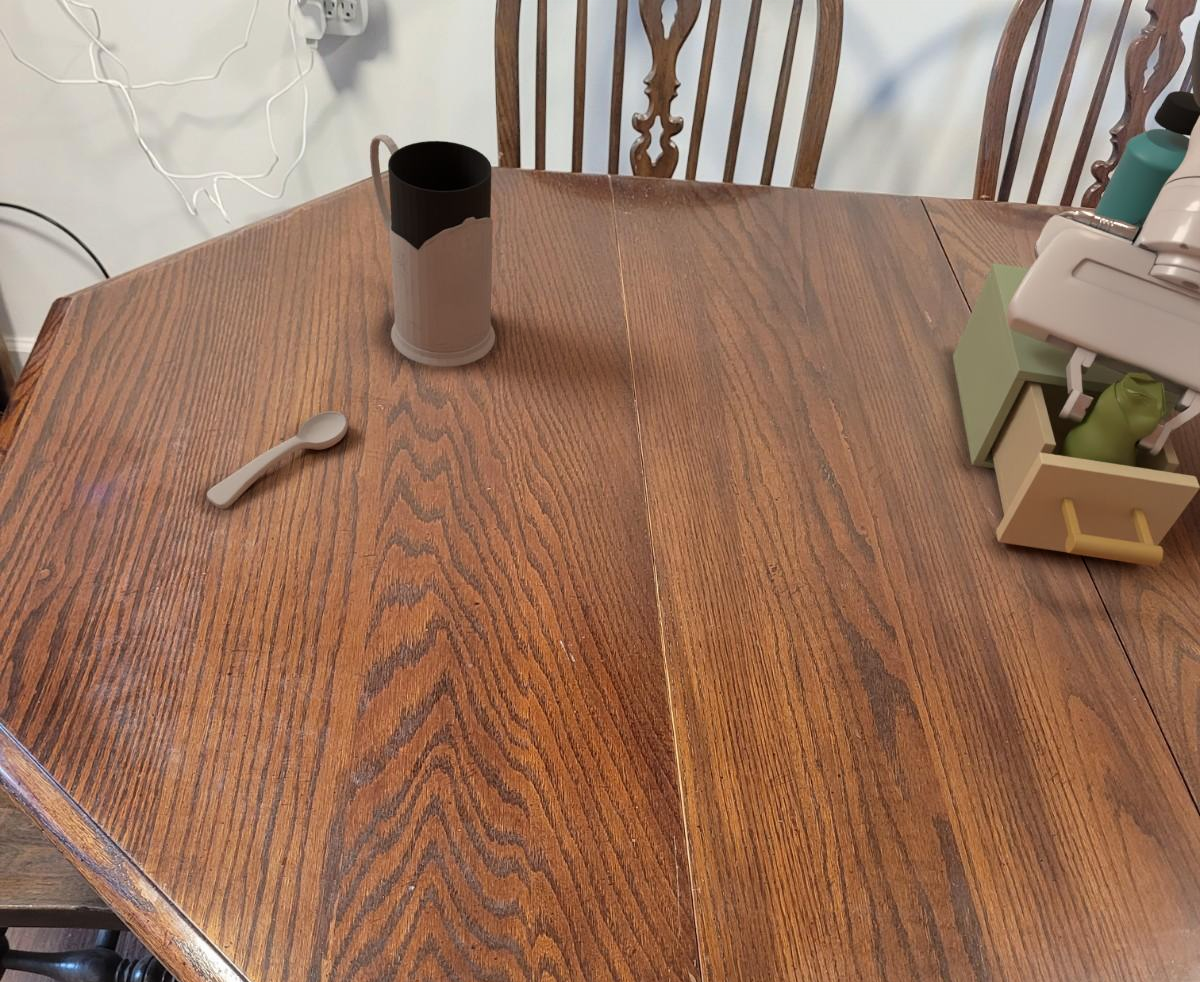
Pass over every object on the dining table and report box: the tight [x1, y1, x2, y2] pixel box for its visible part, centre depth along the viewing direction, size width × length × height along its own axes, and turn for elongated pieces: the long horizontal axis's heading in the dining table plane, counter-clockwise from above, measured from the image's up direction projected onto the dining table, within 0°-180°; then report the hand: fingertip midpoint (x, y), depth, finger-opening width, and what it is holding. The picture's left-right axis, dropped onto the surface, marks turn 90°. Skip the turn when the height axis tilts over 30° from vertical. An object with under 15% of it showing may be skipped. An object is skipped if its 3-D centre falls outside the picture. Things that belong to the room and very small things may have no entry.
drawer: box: [991, 380, 1200, 567], centre depth 77 cm, size 18×11×8 cm, turn 173°
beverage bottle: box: [1094, 90, 1200, 245], centre depth 93 cm, size 6×7×20 cm
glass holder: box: [369, 134, 496, 368], centre depth 83 cm, size 9×14×15 cm, turn 39°
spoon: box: [206, 410, 349, 510], centre depth 75 cm, size 3×12×2 cm, turn 141°
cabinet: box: [952, 262, 1180, 470], centre depth 85 cm, size 15×12×10 cm
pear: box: [1057, 372, 1166, 467], centre depth 74 cm, size 6×5×10 cm
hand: (1107, 435), depth 73 cm, fingers closed on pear, 4 cm apart
